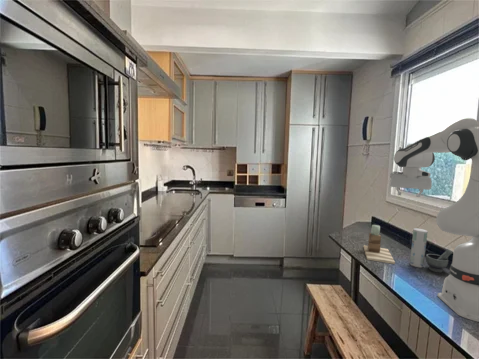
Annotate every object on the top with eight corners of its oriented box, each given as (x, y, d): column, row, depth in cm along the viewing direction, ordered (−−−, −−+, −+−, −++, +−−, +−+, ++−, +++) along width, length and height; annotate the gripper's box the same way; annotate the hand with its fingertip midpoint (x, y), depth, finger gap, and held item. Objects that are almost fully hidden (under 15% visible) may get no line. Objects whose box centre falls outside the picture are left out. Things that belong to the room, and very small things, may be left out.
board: (394, 264, 145) (395, 262, 145) (366, 259, 150) (367, 257, 149) (387, 250, 165) (387, 249, 165) (363, 247, 170) (363, 245, 170)
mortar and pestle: (427, 271, 137) (430, 249, 136) (421, 264, 146) (424, 243, 144) (453, 275, 133) (456, 253, 132) (446, 268, 142) (448, 247, 141)
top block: (380, 244, 158) (381, 236, 158) (371, 243, 159) (372, 235, 158) (376, 241, 163) (377, 233, 163) (368, 240, 164) (369, 233, 163)
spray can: (423, 268, 140) (428, 232, 138) (409, 265, 144) (413, 230, 142) (423, 264, 146) (427, 229, 144) (409, 261, 149) (413, 227, 147)
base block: (379, 252, 158) (380, 244, 157) (368, 251, 160) (369, 243, 159) (378, 249, 163) (379, 241, 163) (367, 247, 166) (368, 240, 165)
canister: (379, 236, 158) (380, 227, 157) (371, 235, 159) (372, 226, 159) (378, 234, 162) (379, 225, 161) (370, 233, 164) (371, 224, 163)
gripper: (391, 171, 150) (389, 195, 152) (434, 173, 143) (431, 198, 145) (389, 170, 156) (387, 193, 158) (430, 173, 149) (427, 196, 150)
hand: (408, 196), depth 151 cm, fingers open, 8 cm apart
